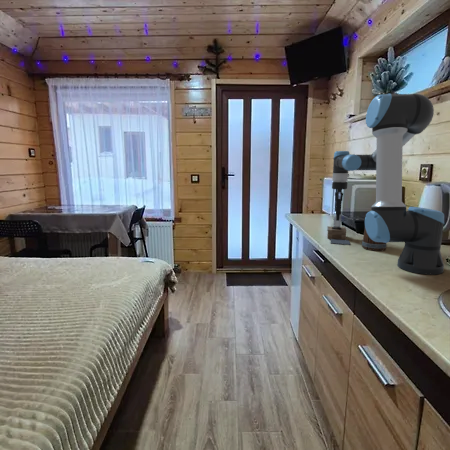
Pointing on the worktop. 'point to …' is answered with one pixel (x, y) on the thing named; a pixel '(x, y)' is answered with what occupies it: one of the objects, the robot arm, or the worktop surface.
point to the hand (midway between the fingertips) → (337, 225)
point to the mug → (372, 243)
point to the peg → (334, 223)
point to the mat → (340, 241)
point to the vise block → (336, 233)
